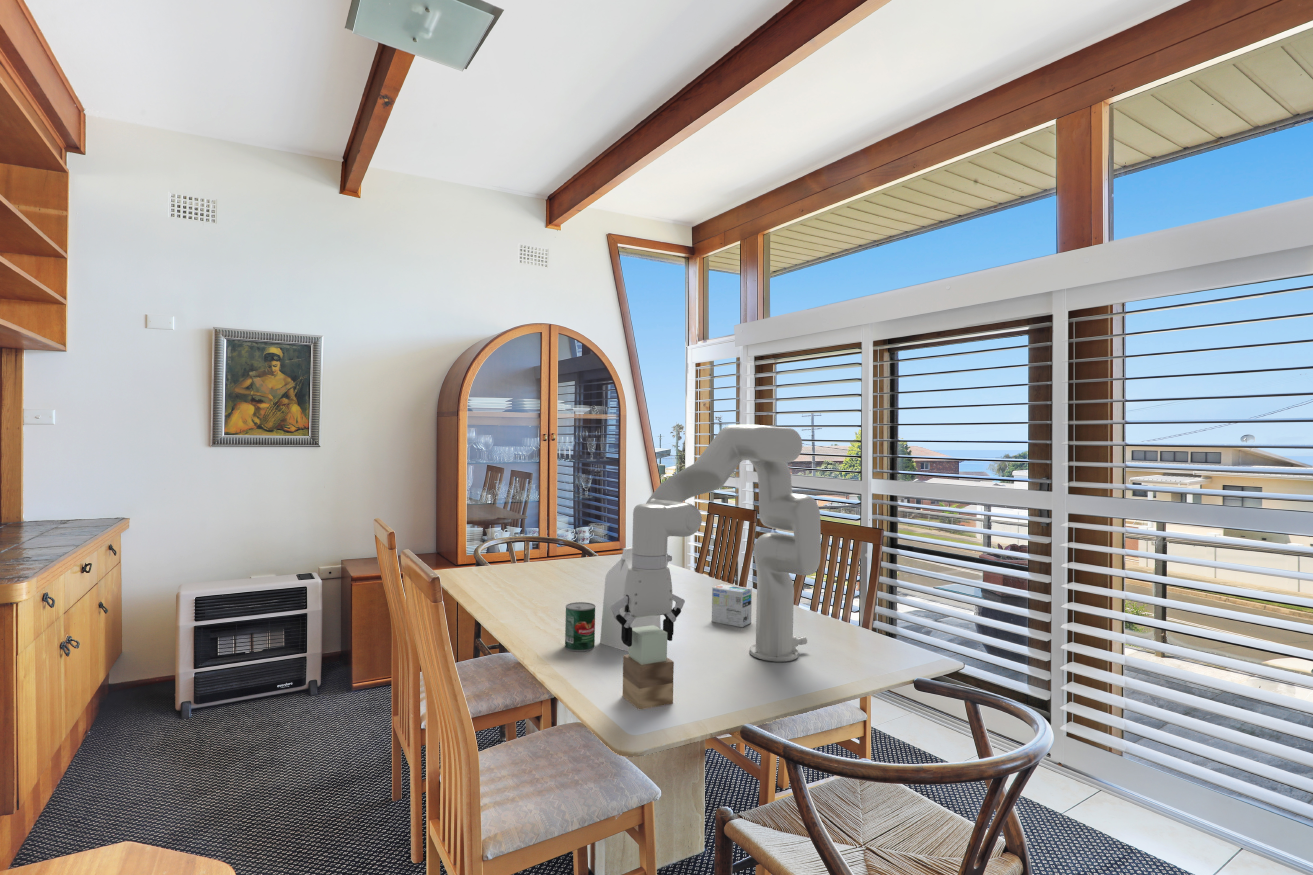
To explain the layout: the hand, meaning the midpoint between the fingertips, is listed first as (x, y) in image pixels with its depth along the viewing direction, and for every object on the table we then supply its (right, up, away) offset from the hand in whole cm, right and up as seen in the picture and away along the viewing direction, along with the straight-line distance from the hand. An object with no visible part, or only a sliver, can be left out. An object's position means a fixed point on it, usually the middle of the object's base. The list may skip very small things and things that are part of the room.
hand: (647, 641), depth 144 cm
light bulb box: (+25, -13, +62) cm, 68 cm away
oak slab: (0, -13, 0) cm, 13 cm away
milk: (-5, -12, +39) cm, 42 cm away
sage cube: (0, -4, 0) cm, 4 cm away
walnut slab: (0, -8, 0) cm, 8 cm away
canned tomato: (-18, -12, +34) cm, 41 cm away
